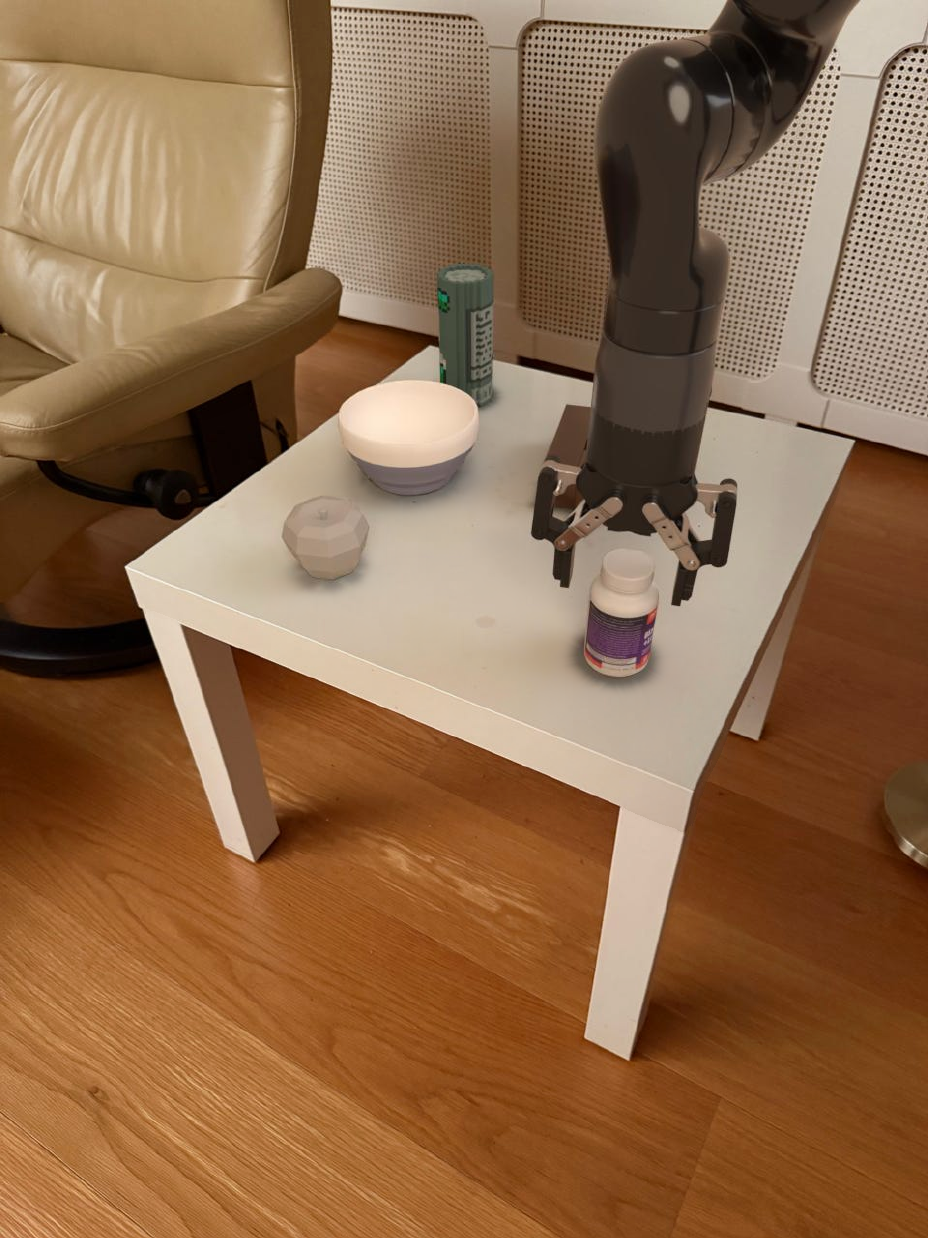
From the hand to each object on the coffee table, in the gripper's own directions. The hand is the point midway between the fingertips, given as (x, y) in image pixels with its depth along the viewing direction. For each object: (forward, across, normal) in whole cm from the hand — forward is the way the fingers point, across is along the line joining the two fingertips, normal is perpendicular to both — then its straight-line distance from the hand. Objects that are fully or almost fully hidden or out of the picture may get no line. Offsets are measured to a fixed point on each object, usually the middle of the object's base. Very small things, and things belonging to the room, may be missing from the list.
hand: (620, 590), depth 68 cm
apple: (+8, -27, +6) cm, 29 cm away
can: (+8, -23, +42) cm, 49 cm away
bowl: (+8, -24, +23) cm, 35 cm away
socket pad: (+7, -4, +27) cm, 28 cm away
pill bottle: (+7, 0, 0) cm, 7 cm away
